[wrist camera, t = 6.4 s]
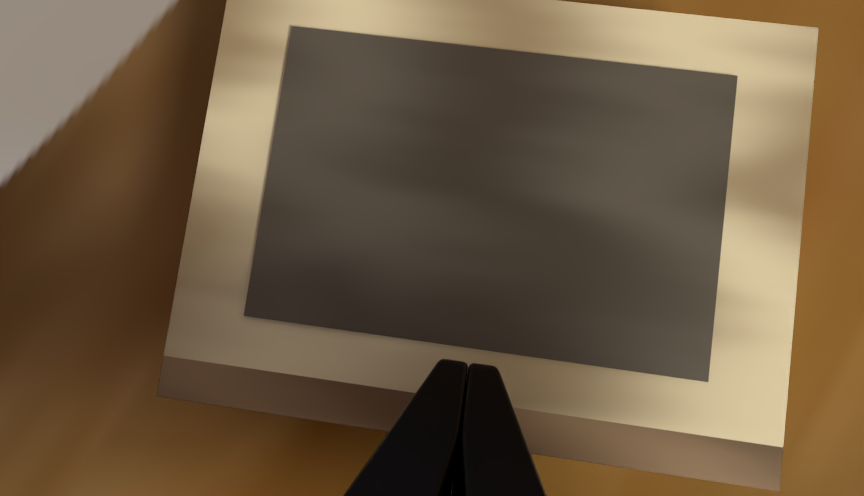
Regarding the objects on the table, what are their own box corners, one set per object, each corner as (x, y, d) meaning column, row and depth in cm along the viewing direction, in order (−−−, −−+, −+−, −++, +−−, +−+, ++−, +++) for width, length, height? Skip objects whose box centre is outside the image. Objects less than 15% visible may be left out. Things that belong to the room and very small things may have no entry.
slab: (704, 450, 16) (738, 91, 17) (781, 492, 12) (821, 20, 13) (228, 379, 17) (285, 40, 18) (154, 397, 13) (231, -41, 14)
